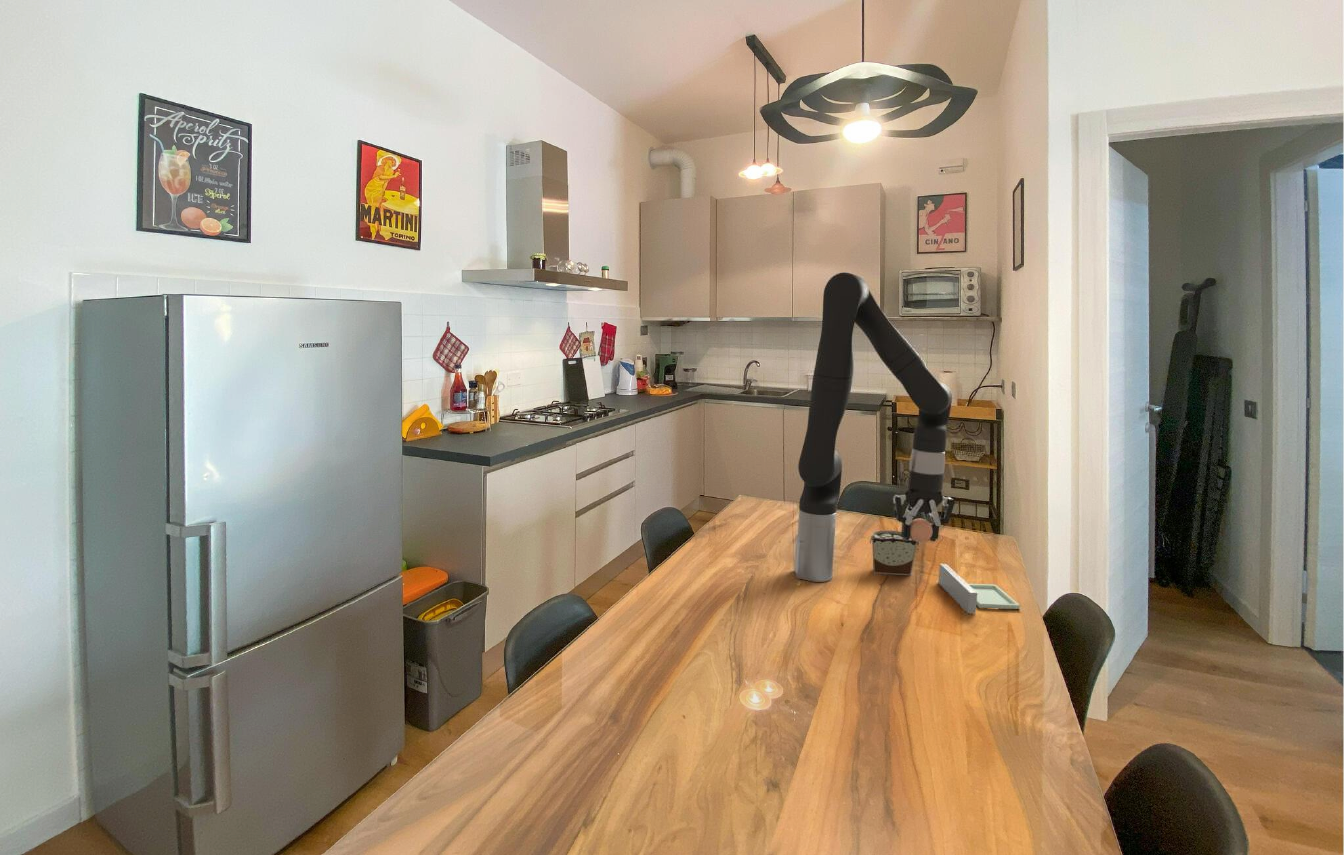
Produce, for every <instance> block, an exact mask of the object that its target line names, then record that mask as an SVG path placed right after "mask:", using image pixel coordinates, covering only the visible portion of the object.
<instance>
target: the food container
mask: <svg viewBox="0 0 1344 855" xmlns="http://www.w3.org/2000/svg"><path fill="white" fill-rule="evenodd" d="M870 536H871V537H870V539H869V543H870V544H871V543H872V544H871V545H872V568H873V574H881V575H882V574H883V575H897V576H898V575H899V576H900V575H901V576H902V575H903V576H912V571H913V565H914V560H915V557H916V551H917V546H918V547H920V542H916V541H914V540H913V539H912V538H911V537H910V538H909V540H905V539H904V537H903V536H902V534H901V530H899V531H898V530H891V529H890V530H885V529H884V530H877V531H874V532H873V533H872V535H870Z"/></svg>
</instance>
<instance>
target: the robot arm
mask: <svg viewBox="0 0 1344 855" xmlns="http://www.w3.org/2000/svg"><path fill="white" fill-rule="evenodd" d="M822 299H823V300H822V317H821V318H822V319H821V320H822V321H821V332H820V338H819V343H818V347H817V352H816V359H815V365H814V371H813V375H812V376H813V377H812V383H811V391H810V400H809V407H808V417H807V427H806V431H805V437H804V440H803V444H802V449H801V453H800V457H799V460H798V464H797V466H798V467H797V468H798V474H799V476H800V478H801V480H802V482H803V489H802V493H801V495H800V498H799V504H798V507H799V508H798V521H797V523H798V524H797V534H796V535H795V546H794V548H795V549H794V560H793V561H794V564H793V571H794V573H795V576H796V578H797V580H798V579H799V580H804V581H809V582H814V583H815V582H816V583H817V582H819V583H820V582H821V583H822V582H828V581H831V580H832V579H833V572H834V560H835V559H834V556H835V544H836V543H835V541H836V540H835V539H836V528H837V526H836V524H837V522H836V521H837V512H838V511H837V510H838V503H839V500H840V494H841V483H842V473H843V471H842V470H843V464H842V463H843V462H842V458H841V456H840V453H838V451H837V450H836V444H837V443H836V442H837V435H838V431H839V428H840V425H841V422H842V420H843V419H844V414H845V412H846V409H847V406H848V403H849V400H850V396H851V390H852V385H853V378H854V370H855V369H854V365H855V364H854V350H853V332H854V326H855V324H856V325H857V326H858V327H859V328H860V330H861V331H862V332H863V333H864V335H865V336H866V337H867V339H868V341H869V342H870V343H871V345H872V347H873V348H874V350H875V352H876V353H877V355H878V357H879V359H880V360H881V361H882V362H883V363H884V365H885V366H886V367H887V369H888V370H889V371H890V373H891V374H892V375H893V376H894V377H895V379H896V380H897V381H899V382H900V384H901V385H902V387H903V388H904V390H905V392H906V393H907V395H908V396H909V398H910V399H911V401H912V402H913V403H914V405H915V406H916V407H917V408H918V418H917V424H916V426H915V428H914V432H913V440H912V449H911V454H910V457H909V458H910V459H909V460H910V461H909V464H908V468H909V469H908V479H907V489H906V492H905V493H904V494H899V495H898V494H893V495H892V505H893V514H894V518H895V520H896V521H898V522H899V523H900V522H901V530H900V532H901V534H902V536H903V537H904V539H905V540H909V538H910V528H911V525H910V523H911V521H913V520H914V518H915V517H916V516H917V514H918V513H919V514H920V513H926V514H928V515H929V516H930V521H931V523H930V524H931V526H932V529H933V533H932V536H931V538H930V539H929V541H931V542H936V540H937V539H939V535H940V527H941V525H948V524H949V522H950V519H951V516H952V513H953V510H954V507H955V503H956V501H955V500H954V499H953V498H952V497H950V496H947V497H945V496H944V495H943V493H942V491H943V485H944V476H945V466H946V448H947V447H946V446H947V445H946V444H947V430H948V424H949V419H950V414H951V409H952V401H953V395H952V391H951V389H950V387H948V385H946V384H945V383H943V382H939V381H938V380H937V378H936V377H935V376H934V375H933V374H932V372H931V371H930V370H929V368H928V367H927V364H926V362H925V361H924V359H923V358H922V357H921V355H920V354H919V353H918V352H917V351H916V349H914V347H913V346H912V345H911V344H910V343H909V342H908V341H907V339H906V338H905V336H903V335H902V333H900V331H899V330H898V329H897V328H896V327H895V325H894V324H893V323H892V322H891V321H890V320H889V318H888V317H887V316H886V314H885V313H884V312H883V310H882V309H881V307H880V305H879V304H878V303H877V301H876V299H875V297H874V296H873V293H872V292H871V290H870V288H869V286H868V285H867V282H866V281H865V280H864V279H863V278H862V277H861V276H859V275H856V274H853V273H850V272H839V273H836V274H835V275H833V276H832V277H830V279H829V280H828V281H827V282H826V285H825V286H824V289H823V296H822ZM905 500H906V501H907V507H906V509H905V513H904V514H903V506H902V505H904V503H905ZM941 503H942V504H941ZM940 504H941V505H942V506H943V507H942V509H941V513H940V514H939V513H938V509H937V507H938V506H939V505H940Z"/></svg>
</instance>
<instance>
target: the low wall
mask: <svg viewBox="0 0 1344 855" xmlns="http://www.w3.org/2000/svg"><path fill="white" fill-rule="evenodd" d="M938 568H939V569H938V570H939V571H938V581H937V583H938V585H940V587H942V588H943V589H944V591H946V592H948V593H947V594H948V595H949V596H950V597H951V596H952V597H951V598H952V599H953V598H954V599H953V600H954V601H955V600H956V601H955V602H956V603H957V604H958V605H959V604H960V605H959V606H960V607H961V608H962V610H964V609H965V610H964V612H966V611H967V612H966V614H968V613H975V614H976V610H977V606H976V602H977V592H976V591H975V590H974V589H973V588H972V587H971V586H969V585H968V584H969V583H968V582H966V580H964V579H963V578H962V577H961V576H960V575H959V574H958V573H957V572H955V570H953V569H952V568H951V567H950V566H949V565H948V564H947V563H939V567H938Z"/></svg>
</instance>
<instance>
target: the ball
mask: <svg viewBox="0 0 1344 855" xmlns="http://www.w3.org/2000/svg"><path fill="white" fill-rule="evenodd" d="M931 524H932V523H931V522H929V521H928V520H927V519H924V518H915V519H912V521H911V523H910V525H911V528H910V537H911V538H912V539H913V540H914V541H916V542H919V543H925V542H927V541H930V538H931V536H932V533H933V529H932V526H931Z"/></svg>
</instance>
